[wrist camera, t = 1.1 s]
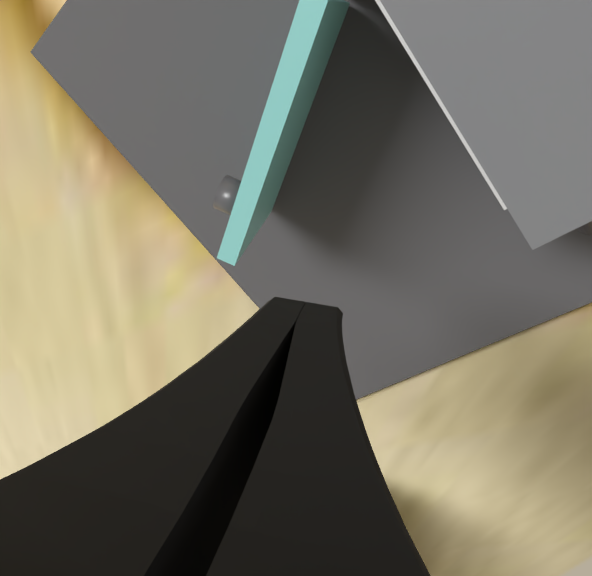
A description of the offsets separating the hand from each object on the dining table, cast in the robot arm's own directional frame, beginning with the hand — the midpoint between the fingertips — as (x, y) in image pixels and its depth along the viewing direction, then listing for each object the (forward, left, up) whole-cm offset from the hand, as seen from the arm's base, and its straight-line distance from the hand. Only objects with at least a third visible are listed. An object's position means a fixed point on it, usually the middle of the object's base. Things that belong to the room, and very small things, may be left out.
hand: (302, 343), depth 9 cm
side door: (0, -4, -9) cm, 10 cm away
